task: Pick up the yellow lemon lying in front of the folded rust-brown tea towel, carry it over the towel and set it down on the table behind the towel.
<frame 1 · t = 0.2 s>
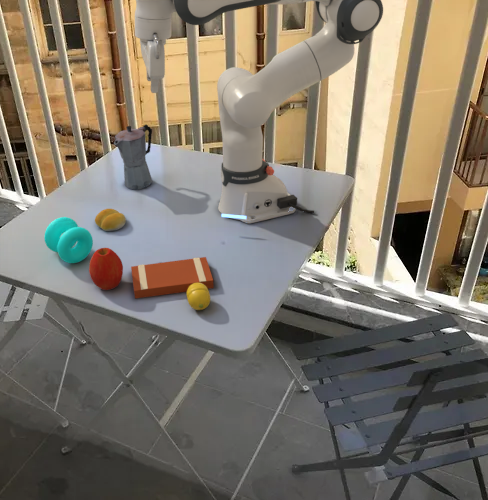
hand: (152, 86, 142), 39 cm above the table, tool pointing down, fingers open, 8 cm apart
bread roll: (110, 224, 163), on the table
apple: (108, 284, 139), on the table
lemon: (198, 305, 130), on the table
donuts: (71, 256, 151), on the table
moka pot: (138, 183, 184), on the table
tea towel: (171, 280, 138), on the table
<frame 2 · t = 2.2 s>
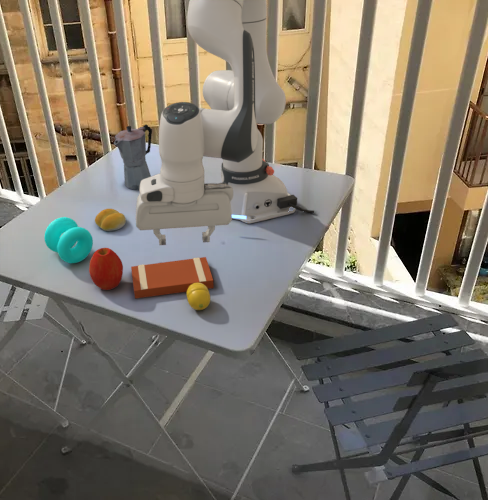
hand: (184, 242, 121), 17 cm above the table, tool pointing down, fingers open, 8 cm apart
nothing on the table moved.
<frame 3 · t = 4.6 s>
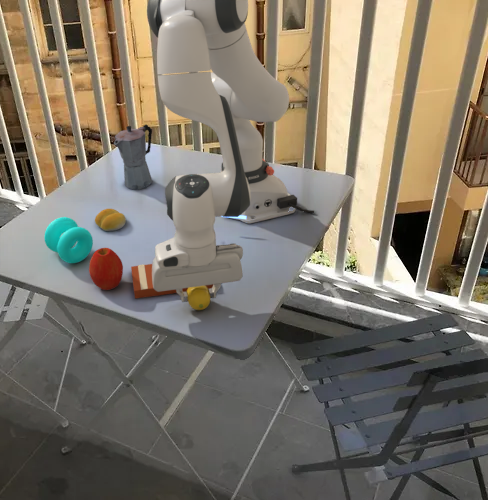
hand: (198, 298, 129), 2 cm above the table, tool pointing down, fingers closed on lemon, 5 cm apart
lemon: (199, 305, 130), on the table, touching gripper
everything else where it was.
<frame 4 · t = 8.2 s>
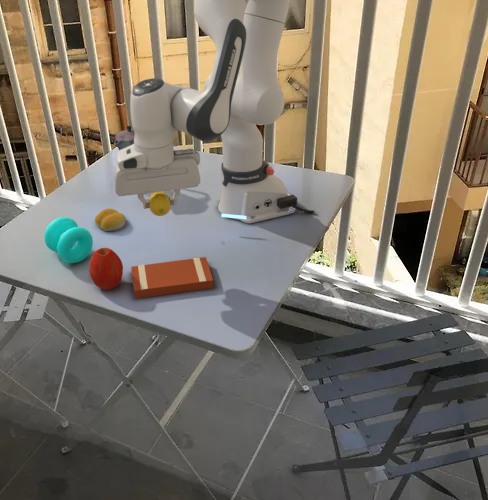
hand: (159, 205, 136), 17 cm above the table, tool pointing down, fingers closed on lemon, 5 cm apart
lemon: (160, 212, 137), point 15 cm above the table, touching gripper
everything else where it was.
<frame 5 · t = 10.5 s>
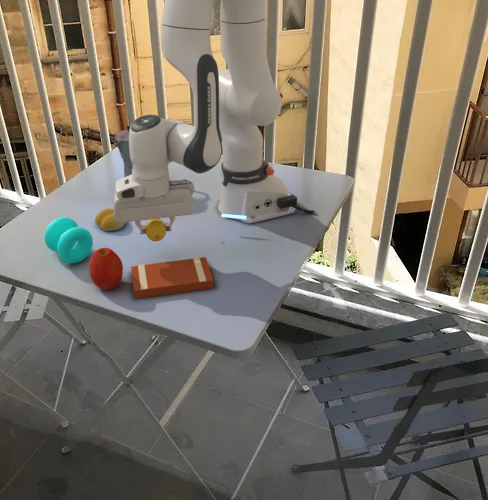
hand: (155, 231, 144), 7 cm above the table, tool pointing down, fingers closed on lemon, 5 cm apart
lemon: (156, 238, 145), point 5 cm above the table, touching gripper
everything else where it was.
when the fingers open (2 cm above the table, at t = 12.3 s): lemon stays where it is, on the table.
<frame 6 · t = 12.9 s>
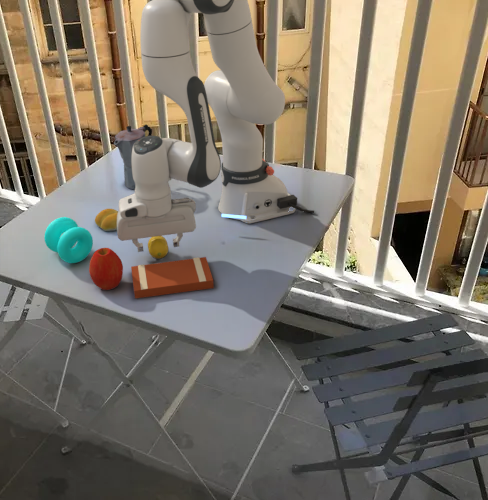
hand: (158, 248, 147), 2 cm above the table, tool pointing down, fingers open, 8 cm apart
lemon: (158, 255, 148), on the table
everything else where it was.
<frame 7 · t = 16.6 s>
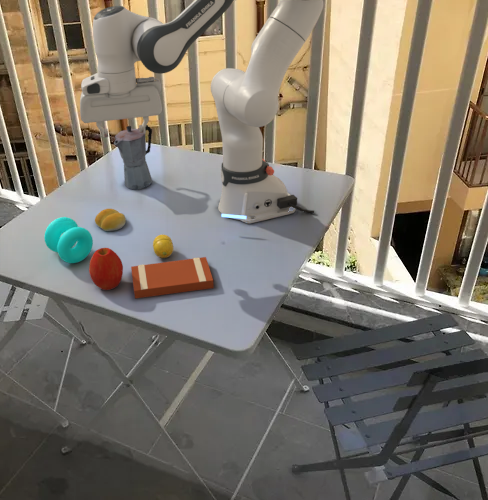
hand: (124, 134, 142), 29 cm above the table, tool pointing down, fingers open, 8 cm apart
lemon: (158, 253, 148), on the table, tilted 35°
everything else where it was.
at the end: lemon inside the target area (1.5 cm from its centre), point 0.5 cm above the table; the gripper is holding nothing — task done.
